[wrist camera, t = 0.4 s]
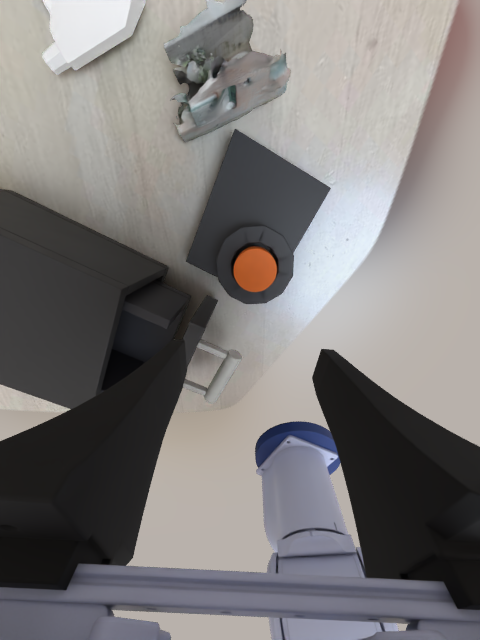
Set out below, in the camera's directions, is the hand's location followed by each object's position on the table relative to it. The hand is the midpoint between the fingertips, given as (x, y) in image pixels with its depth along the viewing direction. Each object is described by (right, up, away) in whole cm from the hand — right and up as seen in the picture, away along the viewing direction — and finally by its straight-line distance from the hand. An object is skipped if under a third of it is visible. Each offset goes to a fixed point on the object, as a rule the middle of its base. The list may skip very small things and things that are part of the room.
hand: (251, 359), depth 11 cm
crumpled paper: (-2, +19, +4) cm, 19 cm away
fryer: (-17, +5, +11) cm, 21 cm away
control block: (0, +10, +7) cm, 13 cm away
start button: (+1, +6, +6) cm, 9 cm away
